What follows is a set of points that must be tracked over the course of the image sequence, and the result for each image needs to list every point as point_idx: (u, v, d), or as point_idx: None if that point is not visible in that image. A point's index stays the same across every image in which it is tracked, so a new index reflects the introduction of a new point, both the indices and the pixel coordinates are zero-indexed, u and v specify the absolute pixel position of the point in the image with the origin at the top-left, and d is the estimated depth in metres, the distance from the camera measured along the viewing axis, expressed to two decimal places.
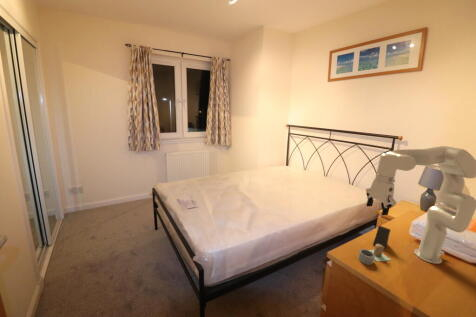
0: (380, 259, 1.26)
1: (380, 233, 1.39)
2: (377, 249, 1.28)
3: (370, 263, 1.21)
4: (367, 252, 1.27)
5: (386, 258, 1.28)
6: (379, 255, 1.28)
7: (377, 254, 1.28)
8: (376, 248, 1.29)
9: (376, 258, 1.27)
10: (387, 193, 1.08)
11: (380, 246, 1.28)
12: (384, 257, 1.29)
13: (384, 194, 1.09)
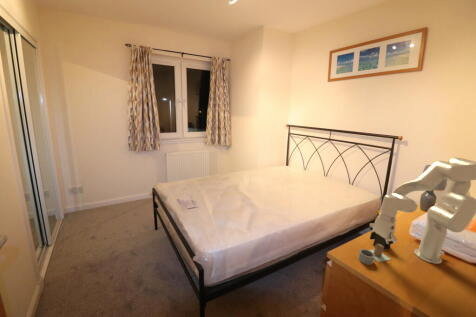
0: (381, 259, 1.26)
1: None
2: (377, 249, 1.28)
3: (370, 263, 1.21)
4: (367, 252, 1.27)
5: (386, 258, 1.28)
6: (379, 255, 1.28)
7: (377, 254, 1.28)
8: (376, 248, 1.29)
9: (377, 258, 1.27)
10: (389, 231, 1.21)
11: (380, 246, 1.28)
12: (384, 257, 1.29)
13: (386, 231, 1.22)
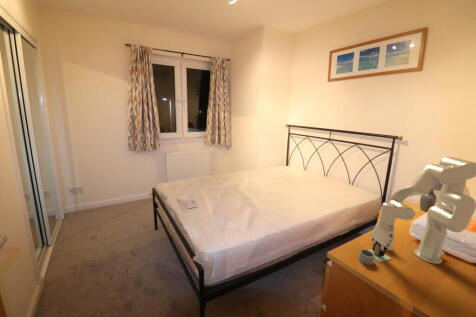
0: (381, 259, 1.26)
1: None
2: (378, 249, 1.28)
3: (370, 263, 1.21)
4: (367, 252, 1.27)
5: (386, 257, 1.28)
6: None
7: (378, 254, 1.28)
8: (377, 248, 1.28)
9: (377, 258, 1.27)
10: (388, 239, 1.22)
11: (380, 246, 1.28)
12: (384, 256, 1.29)
13: (385, 239, 1.23)
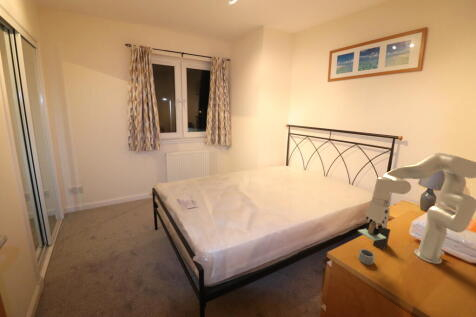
0: (376, 237, 1.17)
1: (380, 233, 1.39)
2: (372, 227, 1.19)
3: (370, 263, 1.21)
4: (367, 252, 1.27)
5: (381, 236, 1.19)
6: None
7: (372, 232, 1.19)
8: (371, 226, 1.19)
9: (372, 237, 1.18)
10: (383, 215, 1.13)
11: (375, 224, 1.19)
12: (379, 235, 1.20)
13: (380, 216, 1.14)
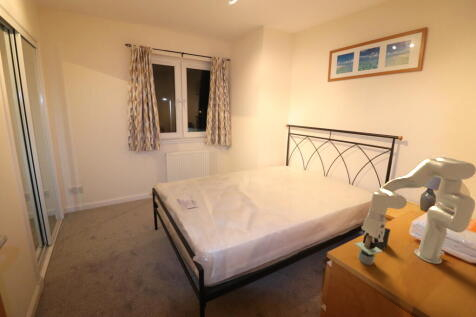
0: (372, 251, 1.19)
1: None
2: (368, 241, 1.21)
3: (370, 263, 1.21)
4: None
5: (377, 250, 1.21)
6: None
7: (368, 246, 1.21)
8: (367, 240, 1.21)
9: (368, 250, 1.19)
10: (379, 230, 1.15)
11: (371, 237, 1.21)
12: (375, 249, 1.22)
13: (376, 230, 1.16)
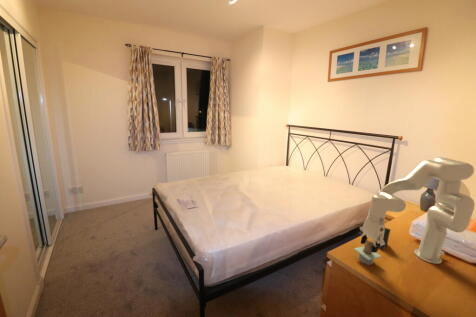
0: (371, 256, 1.20)
1: None
2: (367, 246, 1.22)
3: (370, 263, 1.21)
4: None
5: (376, 255, 1.22)
6: (369, 252, 1.22)
7: (367, 251, 1.22)
8: (366, 245, 1.22)
9: (367, 256, 1.20)
10: (378, 233, 1.16)
11: (370, 243, 1.22)
12: (374, 254, 1.22)
13: (375, 233, 1.16)
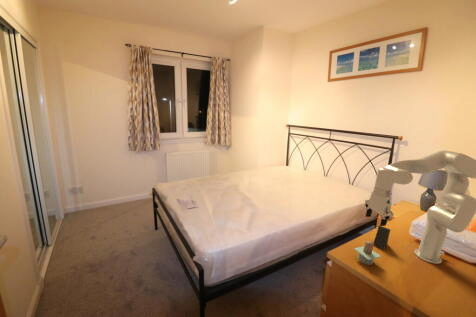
0: (371, 256, 1.20)
1: (380, 233, 1.39)
2: (367, 246, 1.22)
3: (370, 263, 1.21)
4: None
5: (376, 255, 1.22)
6: (369, 252, 1.22)
7: (367, 251, 1.22)
8: (366, 245, 1.22)
9: (367, 256, 1.20)
10: (385, 205, 1.15)
11: (370, 243, 1.22)
12: (374, 254, 1.22)
13: (382, 206, 1.15)
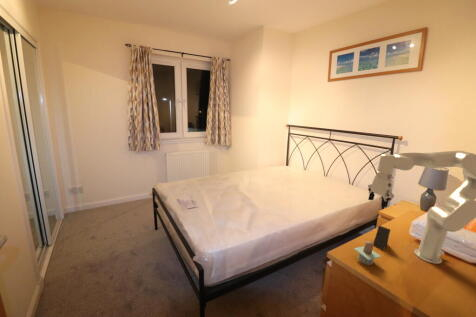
0: (371, 256, 1.20)
1: (380, 233, 1.39)
2: (367, 246, 1.22)
3: (370, 263, 1.21)
4: None
5: (376, 255, 1.22)
6: (369, 252, 1.22)
7: (367, 251, 1.22)
8: (366, 245, 1.22)
9: (367, 256, 1.20)
10: (386, 188, 1.25)
11: (370, 243, 1.22)
12: (374, 254, 1.22)
13: (384, 189, 1.26)
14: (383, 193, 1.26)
